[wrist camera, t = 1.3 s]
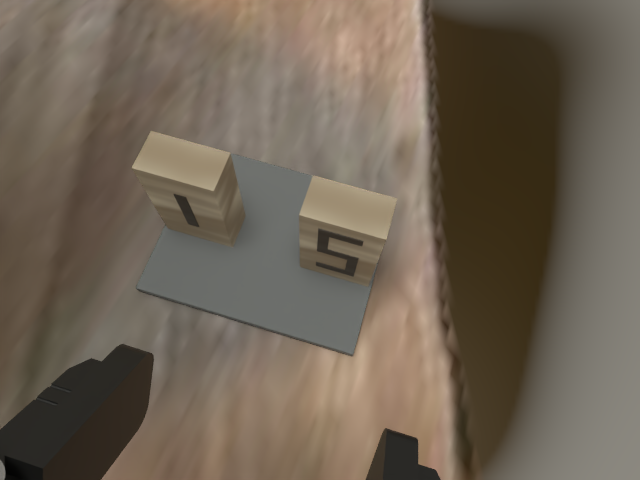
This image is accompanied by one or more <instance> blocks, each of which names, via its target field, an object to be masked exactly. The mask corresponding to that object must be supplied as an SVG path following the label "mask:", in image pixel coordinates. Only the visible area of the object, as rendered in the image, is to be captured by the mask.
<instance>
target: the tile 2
mask: <svg viewBox="0 0 640 480" xmlns="http://www.w3.org/2000/svg"><path fill="white" fill-rule="evenodd" d="M396 202H397V198H394V197H390V196H386V195H383V194H379V193H375V192H372V191H368V190H365V189H361V188H357V187H354V186H350V185H346V184H343V183H339V182H336V181H332V180H328V179H325V178H321V177H317V176H314V175H313V177H312V180H311V183H310V185H309V188H308V191H307V194H306V197H305V199H304V202H303V205H302V208H301V211H300V214H299V243H300V267H302V268H305V269H309V270H312V271H316V272H319V273H322V274H326V275H329V276H333V277H336V278H340V279H343V280H346V281H350V282H353V283H357V284H360V285H363V286H367V287H368V286H369V283H370V280H371V278H372V275H373V273H374V270H375V268H376V265H377V262H378V260H379V257H380V255H381V252H382V250H383V247H384V244H385V242H386V239H387V235H388V232H389V228H390V224H391V220H392V217H393V213H394V209H395V206H396Z"/></svg>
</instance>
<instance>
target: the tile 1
mask: <svg viewBox="0 0 640 480" xmlns="http://www.w3.org/2000/svg"><path fill="white" fill-rule="evenodd" d="M132 169H133V171H134V173H135V174H136V176H137V178H138V179H139V181H140V183H141V184H142V186H143V188H144V189H145V191H146V193H147V194H148V196H149V198H150V199H151V201H152V203H153V204H154V206H155V208H156V209H157V211H158V213H159V214H160V216H161V218H162V219H163V221H164V223H165V224H166V226H167V228H168V229H171V230H175V231H178V232H181V233H185V234H188V235H192V236H195V237H198V238H202V239H205V240H209V241H212V242H215V243H219V244H222V245H226V246H229V247H233V246H234V244H235V241H236V239H237V236H238V234H239V231H240V229H241V226H242V224H243V221H244V219H245V216H246V215H245V211H244V207H243V203H242V198H241V194H240V190H239V186H238V182H237V178H236V173H235V169H234V165H233V161H232V157H231V153H229V152H225V151H222V150H218V149H214V148H211V147H207V146H204V145H200V144H196V143H193V142H189V141H185V140H182V139H178V138H175V137H171V136H167V135H164V134H160V133H157V132H153V131H151V132H150V134H149V136H148V138H147V140H146V142H145V144H144V145H143V147H142V149H141V151H140V153H139V155H138V157H137V159H136V161H135V162H134V164H133V166H132Z"/></svg>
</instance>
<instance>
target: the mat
mask: <svg viewBox="0 0 640 480" xmlns="http://www.w3.org/2000/svg"><path fill="white" fill-rule="evenodd" d="M231 157H232V161H233V165H234V169H235V173H236V178H237V182H238V186H239V190H240V194H241V198H242V203H243V207H244V211H245V215H246V216H245V219H244V221H243V224H242V226H241V229H240V231H239V234H238V236H237V239H236V241H235V244H234V246H233V247H229V246H226V245H222V244H219V243H215V242H212V241H209V240H205V239H202V238H198V237H195V236H192V235H188V234H185V233H181V232H178V231H175V230H171V229H168V228H167V226H166V225H165V227H164V229H163V231H162V233H161V235H160V237H159V239H158V242H157V244H156V246H155V248H154V250H153V252H152V254H151V256H150V259H149V261H148V263H147V265H146V267H145V269H144V271H143V273H142V276H141V278H140V280H139V282H138V284H137V286H136V289H137V290H138V291H141V292H144V293H147V294H151V295H154V296H157V297H160V298H164V299H167V300H170V301H173V302H177V303H180V304H183V305H186V306H190V307H193V308H196V309H200V310H203V311H206V312H209V313H213V314H216V315H219V316H222V317H226V318H229V319H232V320H235V321H239V322H242V323H245V324H248V325H252V326H255V327H258V328H262V329H265V330H268V331H271V332H275V333H278V334H281V335H284V336H288V337H291V338H294V339H297V340H301V341H304V342H307V343H310V344H314V345H317V346H320V347H324V348H327V349H330V350H333V351H337V352H340V353H343V354H346V355H350V356H353V353H354V349H355V346H356V342H357V338H358V335H359V331H360V327H361V324H362V320H363V316H364V312H365V309H366V305H367V301H368V298H369V294H370V290H371V287H372V283H373V279H374V275H375V272H376V268H377V265H376V268H375V270H374V273H373V275H372V278H371V280H370V283H369V286H368V287H367V286H363V285H360V284H357V283H353V282H350V281H346V280H343V279H340V278H336V277H333V276H329V275H326V274H322V273H319V272H316V271H312V270H309V269H305V268H302V267H300V243H299V214H300V211H301V208H302V205H303V202H304V199H305V197H306V194H307V191H308V188H309V185H310V183H311V180H312V177H313V176H311V175H308V174H304V173H300V172H297V171H293V170H290V169H286V168H282V167H279V166H275V165H272V164H268V163H264V162H261V161H257V160H253V159H250V158H246V157H243V156H239V155H235V154H232V153H231ZM378 261H379V260H378ZM377 264H378V262H377Z"/></svg>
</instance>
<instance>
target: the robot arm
mask: <svg viewBox="0 0 640 480" xmlns="http://www.w3.org/2000/svg"><path fill="white" fill-rule="evenodd" d="M153 362H154V357H153V354H152V353H149V352H146V351H143V350H140V349H136V348H133V347H130V346H127V345H124V344H121V345H119V346H117V347H116V348H115V349H114V350H113V351H112V352H111V353H110V354H109V355H108V356H107V357H106V358H105V359H104V360H103V361H102V362H101V361H98V360H95V359H92V358H91V359H89V360H87V361H84V362H82V363H80V364H78V365H76V366H73V367H71V368H69V369H68V370H67V371H65V372H64V373H63V374H62V375H61V376H60V377H59V378H58V379H56V380H55V381H54V382H53V383H52V385H51V387H48V388H46V389H45V390H44V391H43V392H42V393H41V394H40V395H39V396H38V397H37V399H36V400H33V401H32V402H31V403H30V404H29V405H27V406H26V407H25V408H24V409H23V410H22V411H21V412H20V413H18V414H17V415H16V416H15V417H14V418H13V419H12V420H11V421H9V422H8V423H7V424H6V425H5V426H4V427H3V428H2V429H1V430H0V480H101V479H102V477H103V476H104V475H105V473H106V472H107V471H108V469H109V468H110V467H111V465H112V464H113V463H114V461H115V460H116V459H117V457H118V456H119V455H120V453H121V452H122V451H123V449H124V448H125V447H126V445H127V444H128V443H129V441H130V440H131V439H132V437H133V436H134V435H135V433H136V432H137V431H138V429H139V427H140V426H141V424H142V422H143V419H144V417H145V414H146V411H147V408H148V403H149V395H150V387H151V379H152V370H153ZM366 480H440V478H439V476H438V473H437V471H436V470H435V469H431V468H428V467H425V466H422V465H419V464H418V439H417V438H415V437H412V436H409V435H405V434H402V433H399V432H396V431H393V430H390V429H387V428H385V429H384V431H383V433H382V436H381V439H380V441H379V444H378V447H377V450H376V452H375V455H374V458H373V461H372V464H371V466H370V469H369V472H368V475H367V478H366Z"/></svg>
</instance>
